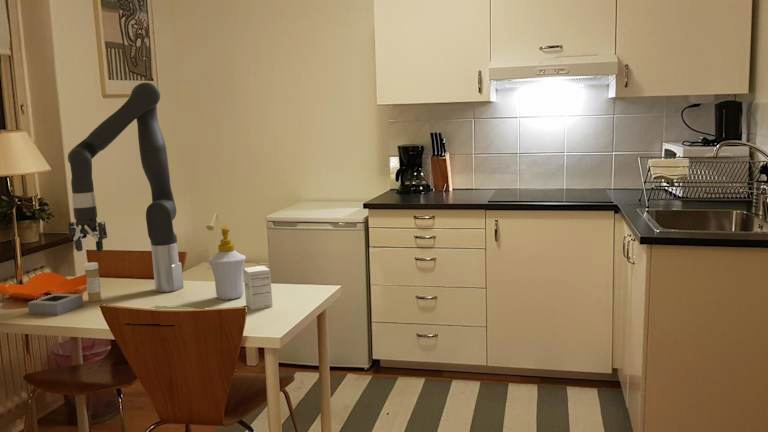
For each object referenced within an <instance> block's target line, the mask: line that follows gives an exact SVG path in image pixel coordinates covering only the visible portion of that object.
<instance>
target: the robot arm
mask: <svg viewBox="0 0 768 432" xmlns="http://www.w3.org/2000/svg"><path fill="white" fill-rule="evenodd" d="M160 99H161V92H160V89H159V87H157V85H155V84H154V83H152V82H148V81H147V82H141V83H138V84H137V85H135V86H134V87H133V88H132V89H131V92H130V96H129V98H128V99H127V100H126V101H125V102H124V103H123V105H122V106H120V107H119V108H118V109H117V110H115V112H114V113H112V114H111V115H109V116H108V117H106V119H104V120H103V121H102V122H100V124H98V125H97V127H95V128H94V129H93V130H92V131H91V132H90V133H89V134H88V135H87V136H86V137H85V138H84V139H83V140H82V141H80V142H79V143H77V144H76V145H75V146H74V147H73V148H72V149H71V150H70V151H69V152H68V153H67V161H68V163H69V165H70V173H71V181H70V185H71V192H72V194H71V197H72V198H71V199H72V211H73V219H74V221H69V222H68V225H67V226H68V239H70V240H73V241H74V245H75V247H74V248H75V250H76V251H77V252H83V241H82V238H83V236H84V235H90V236H91V237H93V239H94V241H95V248H96V249H95V250H96V252H99V253H100V252H102V251H103V250H104V246H103V245H104V243H103V240H105V239H107V238H108V233H107V227H106V221H100V222H99V221H97V218H98V210H97V209H98V208H97V201H96V199H97V198H96V195H95V191H94V190H95V187H94V181H93V165H92V164H93V162H92V161H93V159H94V158H95V157H96V156H97V155H98V154H99V153H100V152H102V151H104V150H105V149H107V147H109V146H110V144H111V143H113V142H114V141H115V140H116V139H117V138H118V137H119V136H120V135H121V133H123V132H124V131H125V130H126V128H128V126H130V124H131V123H133V122H134V121H135V120H136V124H137V136H138V147H139V156H140V162H141V166H142V170H143V172H144V174H145V176H146V179H147V181H148V183H149V186H150V191H151V203H150V204H149V205H148V206H147V207H146V211H145V221H146V228H147V229H146V230H147V234H148V235H147V236H148V238H149V240H150V247H151V248H150V249H151V257H152V258H151V259H152V269H153V277H154V278H153V281H154V288H155V292H159V293H169V292H176V291H178V290H180V289H183V288H184V286H185V285H184V278H183V265H182V262H180V260H179V259H180V258H179V249H178V248H179V247H178V238H177V234H176V233H175V232H174V226H173V224H174V223H173V221H174V220H175V218H176V215H177V207H176V203H175V198H174V194H173V191H172V186H171V179H170V177H171V176H170V169H169V162H168V160H169V159H168V152H167V145H166V141H165V139H164V136H163V133H162V130H161V127H160V123H159V120H158V109H157V107H158V106H157V105H158V103H159V102H160Z"/></svg>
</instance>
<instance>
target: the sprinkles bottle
mask: <svg viewBox="0 0 768 432" xmlns="http://www.w3.org/2000/svg"><path fill="white" fill-rule="evenodd" d="M83 269H84V272H85V282H86V291H87V301H88V302H92V303H94V302H98V301H101V300H102V296H101V295H102V293H101V283H100V274H99V263H98V262H96V261H95V262H94V261H93V262H86V263H85V264H84V265H83Z"/></svg>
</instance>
